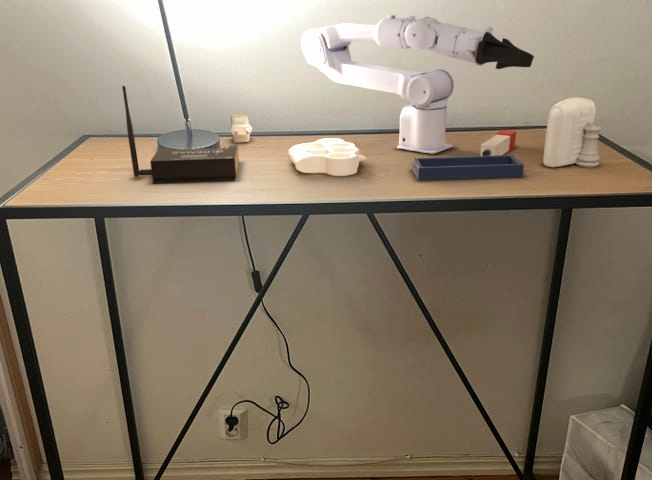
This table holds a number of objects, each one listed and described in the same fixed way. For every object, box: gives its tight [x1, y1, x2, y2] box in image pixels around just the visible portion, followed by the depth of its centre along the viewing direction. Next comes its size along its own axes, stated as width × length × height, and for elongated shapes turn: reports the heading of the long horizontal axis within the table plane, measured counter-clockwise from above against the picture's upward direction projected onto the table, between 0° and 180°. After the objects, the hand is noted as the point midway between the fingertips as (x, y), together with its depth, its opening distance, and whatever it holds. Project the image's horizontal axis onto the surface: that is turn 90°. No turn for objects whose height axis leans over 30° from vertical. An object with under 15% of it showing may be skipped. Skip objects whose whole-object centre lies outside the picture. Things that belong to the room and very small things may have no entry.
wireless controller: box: [121, 85, 240, 185], centre depth 139 cm, size 20×14×17 cm
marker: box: [479, 129, 517, 156], centre depth 150 cm, size 15×3×3 cm, turn 150°
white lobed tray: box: [288, 137, 367, 177], centre depth 145 cm, size 3×18×15 cm
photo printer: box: [542, 96, 597, 168], centre depth 140 cm, size 10×4×12 cm, turn 122°
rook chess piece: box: [575, 121, 603, 169], centre depth 139 cm, size 4×4×8 cm
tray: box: [412, 154, 525, 182], centre depth 137 cm, size 20×8×2 cm, turn 92°
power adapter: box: [229, 112, 253, 144], centre depth 164 cm, size 11×5×6 cm, turn 9°
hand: (525, 59), depth 136 cm, fingers open, 7 cm apart
